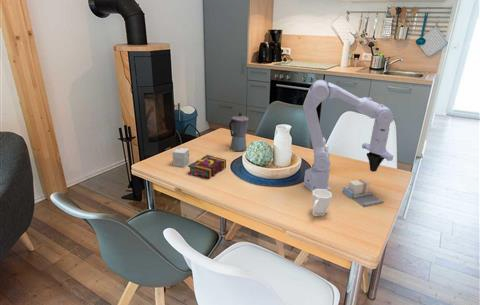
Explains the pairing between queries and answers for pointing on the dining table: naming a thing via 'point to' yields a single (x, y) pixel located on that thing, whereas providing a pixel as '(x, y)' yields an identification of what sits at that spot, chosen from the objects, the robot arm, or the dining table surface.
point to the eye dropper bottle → (325, 144)
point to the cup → (321, 201)
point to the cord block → (359, 186)
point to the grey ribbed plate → (363, 198)
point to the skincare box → (180, 157)
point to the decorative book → (207, 166)
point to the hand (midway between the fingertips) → (373, 170)
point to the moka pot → (238, 132)
